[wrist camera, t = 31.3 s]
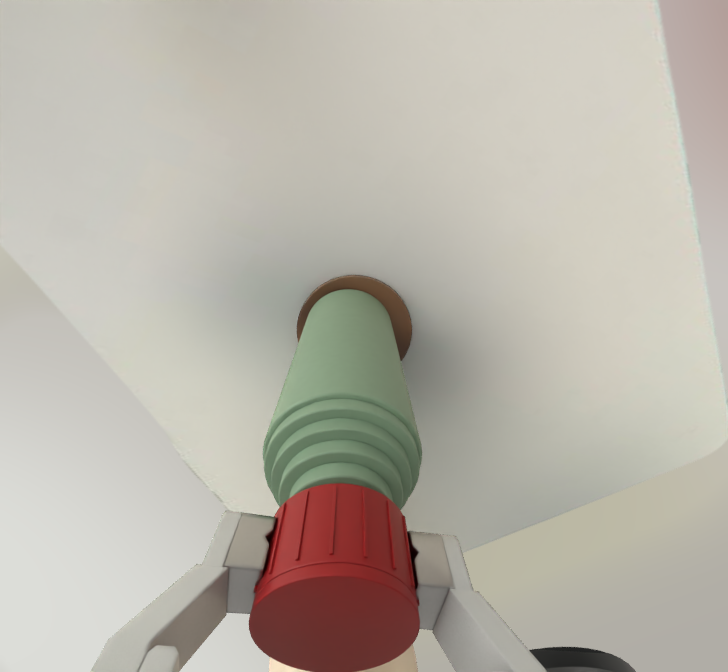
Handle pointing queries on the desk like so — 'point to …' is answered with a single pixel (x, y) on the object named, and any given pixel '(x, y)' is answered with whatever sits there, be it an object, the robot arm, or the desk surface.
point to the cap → (336, 582)
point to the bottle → (344, 406)
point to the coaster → (377, 290)
